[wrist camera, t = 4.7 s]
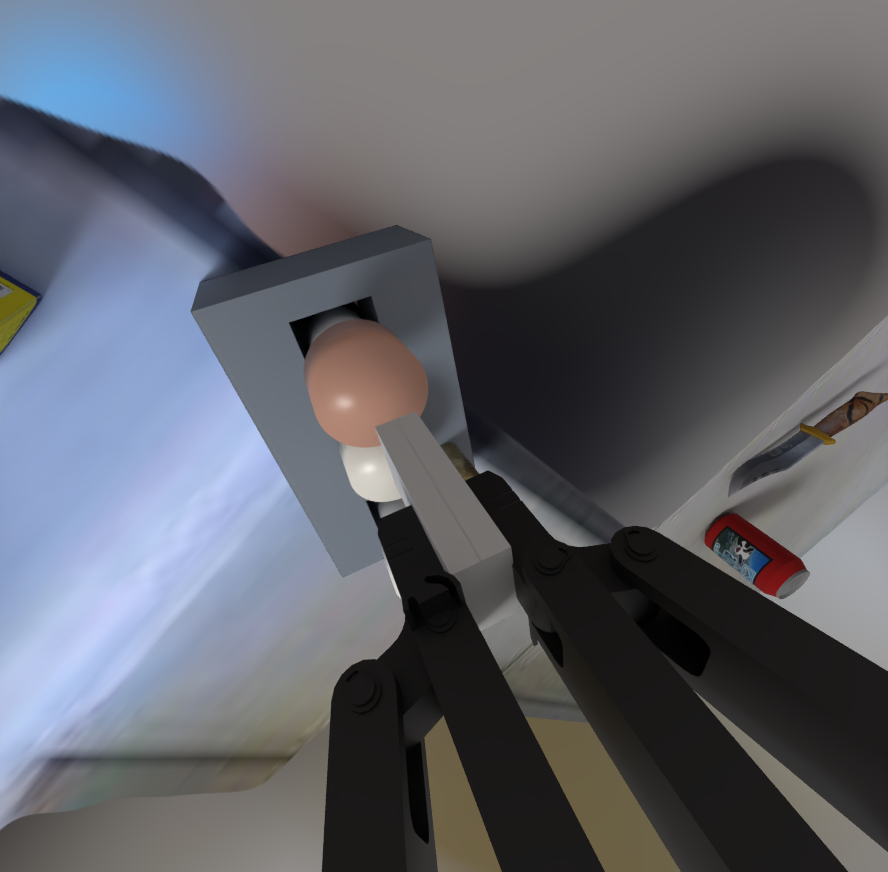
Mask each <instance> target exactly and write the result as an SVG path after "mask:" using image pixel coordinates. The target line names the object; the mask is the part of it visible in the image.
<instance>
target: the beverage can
mask: <svg viewBox="0 0 888 872" xmlns="http://www.w3.org/2000/svg"><path fill="white" fill-rule="evenodd" d="M705 545H706V546H708V547H709V548H710V549H711V550H712V551H714V552H715V553H716V554H717V555H718V556H719V557H721V558H722V559H723V560H724V561H726V562H727V563H728V564H729V565H730V566H732V567H733V568H734V569H735V570H736V571H738V572H739V573H740V574H741V575H743V576H744V577H745V578H746V579H747V580H749V581H750V582H751V583H752V584H754V585H755V586H756V587H757V588H759V589H760V590H761V591H762V592H763V593H765V594H769V595H772V596H775V597H778V598H779V599H784V598H786V597H788V596H790V595H791V594H792V593H794V592H795V591H796V590H797V589H799V588H800V587H801V586H802V585H803V584H804V582H805V581H806V580H807V579H808V577H809V575H810V572H809V571H807V569H806V568H805V566H804V564H803V562H802V560H801V559H800V558H798V557H797V556H796V555H794V554H793V553H791V552H790V551H789V550H787V549H786V548H784V547H783V546H782V545H780V544H779V543H777V542H776V541H775V540H773V539H772V538H770V537H769V536H768V535H766V534H765V533H763V532H762V531H760V530H759V529H758V528H756V527H755V526H753V525H752V524H750V523H749V522H748V521H746V520H745V519H743V518H742V517H740V516H739V515H737V514H728V515H723V516H721V517H719V518H717V519H716V520H715V521H714V522H713V523H712V524H711V525H710V526H709V527H708V529H707V530H706V533H705Z"/></svg>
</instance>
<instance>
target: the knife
mask: <svg viewBox="0 0 888 872" xmlns="http://www.w3.org/2000/svg"><path fill="white" fill-rule="evenodd" d="M887 400H888V394H887V393H870V392H862V391H861V392H858V393H856V394H855V396H854V397H853V398H852V399H851V400H850V401H848V402H847V403H845V404H843V405H842V406H840V407H839V408H837V409H836V410H834V411H833V412H831V413H830V414H829V415H827V416H826V417H825V418H824V419H822V420H821V421H820V422H819V423H817V424H816V425H815V426H814V427H812V426H807V425H804V424H802V423H801V424H800V431H799V432H798V433H797V434H795V435H794V436H793V437H791V438H790V439H788V440H787V441H785V442H784V443H782V444H781V445H779V446H777V447H776V448H774V449H772V450H770V451H768V452H766V453H764V454H761V455H759V456H757V457H754V458H752V459H750V460H749V461H747V462H745V463H744V464H743V465H742V466H741V467H740V468H739V469H738V470H737V471H736V472H735V474H734V476H733V477H732V479H731V482H730V486H729V495H728V498H729V497H730V496H732V495H733V494H735V493H736V492H738V491H739V490H741V489H742V488H744V487H746V486H747V485H749V484H751V483H753V482H755V481H757V480H759V479H761V478H763V477H765V476H768V475H771V474H774V473H777V472H780V471H784V470H787V469H789V468H790V467H791V466H793V465H794V464H795V463H797V462H798V461H800V460H801V459H802V458H804V457H805V456H807V455H808V454H809V453H811V452H812V451H814V450H815V449H816V448H818V447H819V446H821V445H822V444H824V445H830V444H835V442H836V440H834V439H832V438H830V437H832V436H833V435H835V434H837V433H839V432H840V431H842V430H844V429H845V428H847V427H849V426H850V425H852V424H854V423H855V422H857V421H858V420H860V419H861V418H863V417H864V416H866V415H867V414H868V413H869V412H870V411H872V410H873V409H874V408H875V407H876V406H877V405H879V404H881V403H883V402H885V401H887Z"/></svg>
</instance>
